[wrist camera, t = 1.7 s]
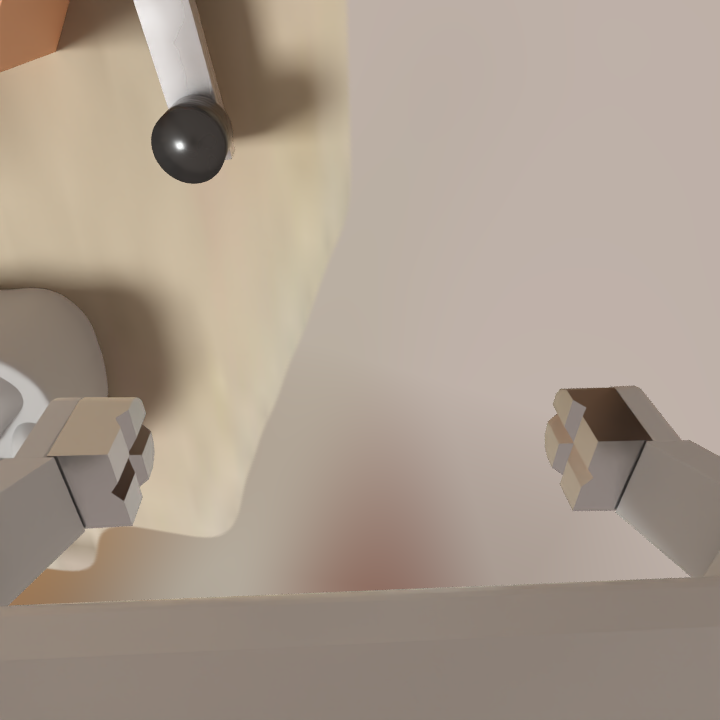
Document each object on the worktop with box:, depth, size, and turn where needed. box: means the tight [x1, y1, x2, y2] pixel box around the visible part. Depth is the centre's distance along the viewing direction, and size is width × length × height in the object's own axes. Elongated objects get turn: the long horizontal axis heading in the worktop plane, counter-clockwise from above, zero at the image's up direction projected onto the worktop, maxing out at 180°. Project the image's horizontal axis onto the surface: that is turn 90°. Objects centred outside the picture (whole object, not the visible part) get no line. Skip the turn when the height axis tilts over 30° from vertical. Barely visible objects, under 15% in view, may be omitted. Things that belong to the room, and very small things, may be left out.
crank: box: [133, 0, 235, 184], centre depth 22 cm, size 13×4×4 cm, turn 8°
